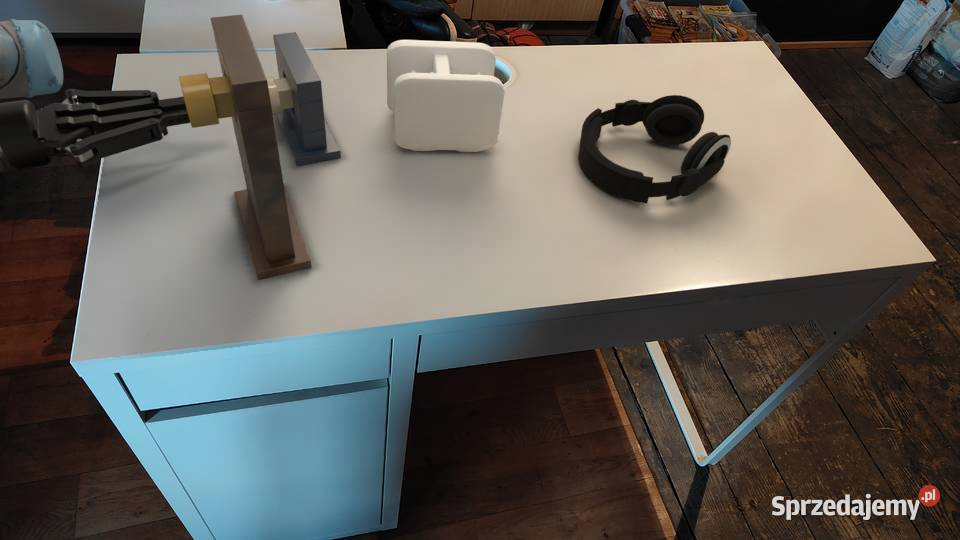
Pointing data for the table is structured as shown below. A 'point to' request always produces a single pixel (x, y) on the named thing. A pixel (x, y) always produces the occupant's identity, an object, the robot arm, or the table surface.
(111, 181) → the table surface
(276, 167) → the panel front
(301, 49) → the panel back
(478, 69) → the cable organizer
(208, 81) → the knob front
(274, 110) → the knob back
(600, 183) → the headphones
